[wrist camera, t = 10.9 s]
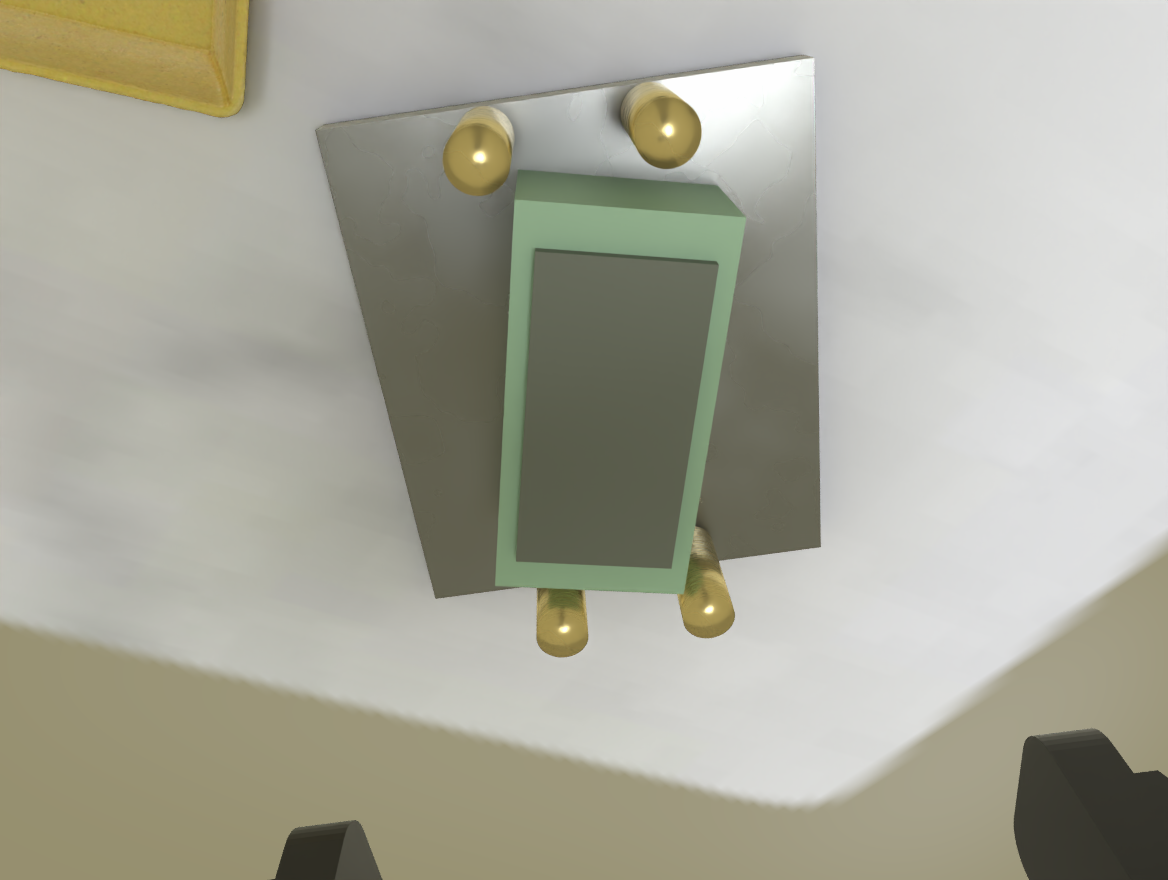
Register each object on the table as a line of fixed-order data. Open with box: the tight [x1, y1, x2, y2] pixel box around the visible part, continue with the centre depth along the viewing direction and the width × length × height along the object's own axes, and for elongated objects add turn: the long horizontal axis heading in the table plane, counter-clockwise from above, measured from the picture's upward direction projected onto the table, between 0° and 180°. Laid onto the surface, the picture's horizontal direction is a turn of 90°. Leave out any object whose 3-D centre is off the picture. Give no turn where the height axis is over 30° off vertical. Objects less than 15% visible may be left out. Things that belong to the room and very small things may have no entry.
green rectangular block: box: [495, 169, 746, 594], centre depth 23 cm, size 10×5×4 cm, turn 175°
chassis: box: [315, 55, 821, 657], centre depth 23 cm, size 14×12×4 cm
